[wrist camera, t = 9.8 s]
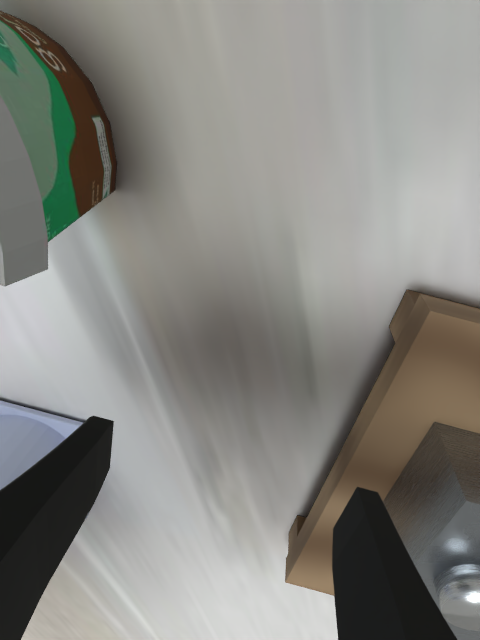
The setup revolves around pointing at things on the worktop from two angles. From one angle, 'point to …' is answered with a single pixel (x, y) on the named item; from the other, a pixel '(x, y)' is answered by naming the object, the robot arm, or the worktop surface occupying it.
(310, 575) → the stand
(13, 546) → the robot arm
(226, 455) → the worktop surface
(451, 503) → the block
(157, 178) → the worktop surface
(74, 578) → the worktop surface
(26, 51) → the food container
